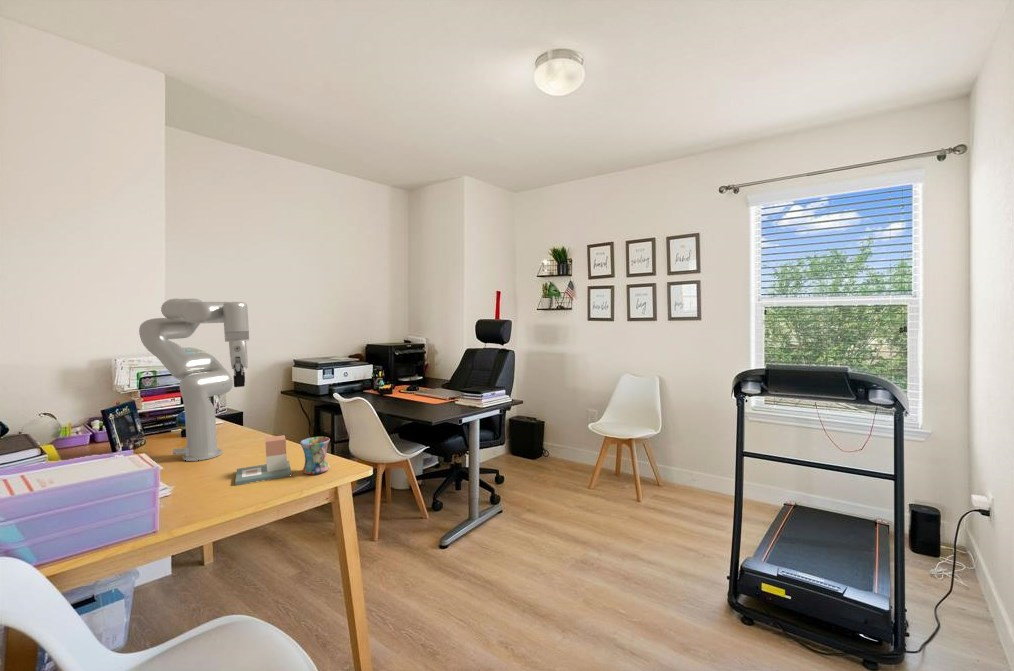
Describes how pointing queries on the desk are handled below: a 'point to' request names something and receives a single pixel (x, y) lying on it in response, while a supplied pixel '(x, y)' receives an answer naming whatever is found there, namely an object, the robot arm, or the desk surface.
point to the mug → (315, 455)
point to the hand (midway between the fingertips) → (239, 384)
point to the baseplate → (265, 470)
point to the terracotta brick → (275, 445)
